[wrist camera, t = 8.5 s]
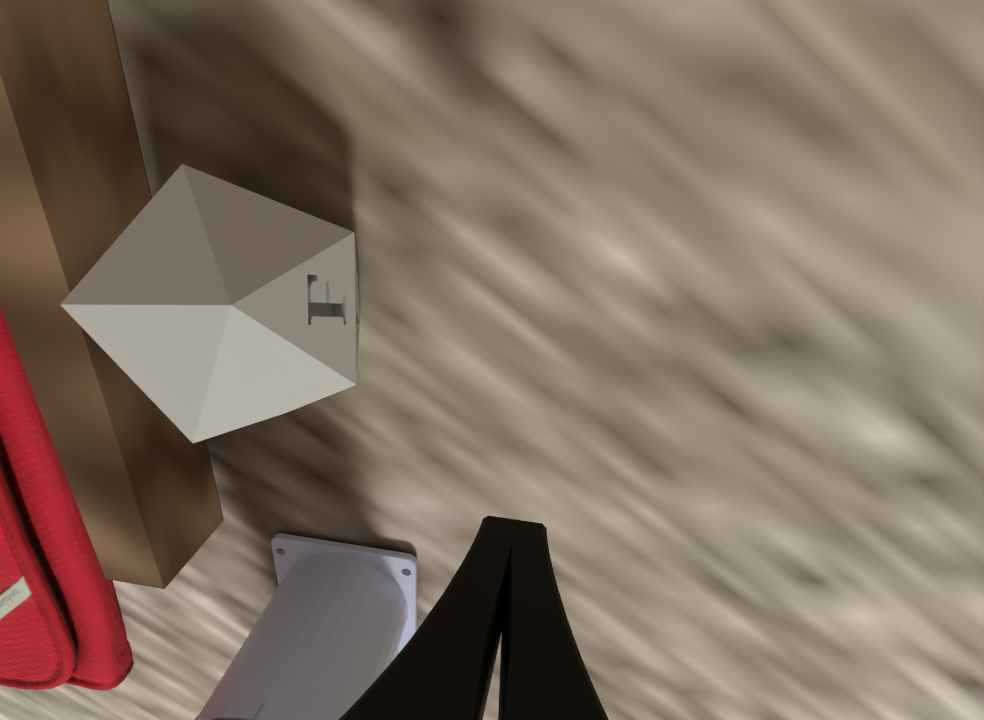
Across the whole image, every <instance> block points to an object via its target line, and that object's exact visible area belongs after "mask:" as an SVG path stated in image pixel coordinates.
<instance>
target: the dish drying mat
mask: <svg viewBox="0 0 984 720" xmlns="http://www.w3.org/2000/svg"><path fill="white" fill-rule="evenodd" d="M132 667H133V659H132V651H131V647H130V644H129V642H128V641H127V636H126V631H125V627H124V623H123V619H122V616H121V612H120V609H119V606H118V602H117V598H116V594H115V591H114V587H113V584H112V580H109V579H106V578H105V576H104V573H103V571H102V568H101V565H100V563H99V560H98V558H97V555H96V553H95V550H94V547H93V545H92V542H91V540H90V537H89V535H88V532H87V529H86V527H85V524H84V522H83V519H82V516H81V514H80V511H79V509H78V506H77V504H76V501H75V498H74V496H73V493H72V491H71V488H70V486H69V483H68V480H67V478H66V475H65V473H64V470H63V468H62V465H61V462H60V460H59V457H58V455H57V452H56V449H55V447H54V444H53V442H52V439H51V437H50V434H49V431H48V429H47V426H46V424H45V421H44V419H43V416H42V413H41V411H40V408H39V406H38V403H37V400H36V398H35V395H34V393H33V390H32V388H31V385H30V382H29V380H28V377H27V375H26V372H25V370H24V367H23V364H22V362H21V359H20V357H19V354H18V351H17V349H16V346H15V344H14V341H13V339H12V336H11V333H10V331H9V328H8V326H7V323H6V321H5V318H4V315H3V313H2V310H1V308H0V685H2V686H8V687H15V688H18V689H33V690H38V689H51V688H54V687H57V686H60V685H62V684H63V683H68V684H73V685H77V686H81V687H85V688H89V689H94V690H109V689H112V688H115V687H117V686H118V685H119V684H120V683H121V682H122V681H124V679H125V678H126V677H127V675H128V674H129V673H130V671H131V669H132Z"/></svg>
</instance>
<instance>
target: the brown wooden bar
mask: <svg viewBox="0 0 984 720" xmlns="http://www.w3.org/2000/svg"><path fill="white" fill-rule="evenodd" d="M150 200H151V196H150V191H149V187H148V182H147V178H146V173H145V169H144V164H143V160H142V156H141V151H140V147H139V142H138V138H137V133H136V129H135V124H134V120H133V115H132V111H131V107H130V102H129V98H128V93H127V89H126V84H125V80H124V75H123V71H122V67H121V62H120V58H119V53H118V49H117V44H116V40H115V35H114V31H113V26H112V22H111V18H110V13H109V9H108V4H107V0H0V308H1V310H2V313H3V315H4V318H5V321H6V323H7V326H8V328H9V331H10V333H11V336H12V339H13V341H14V344H15V346H16V349H17V351H18V354H19V357H20V359H21V362H22V364H23V367H24V370H25V372H26V375H27V377H28V380H29V382H30V385H31V388H32V390H33V393H34V395H35V398H36V400H37V403H38V406H39V408H40V411H41V413H42V416H43V419H44V421H45V424H46V426H47V429H48V431H49V434H50V437H51V439H52V442H53V444H54V447H55V449H56V452H57V455H58V457H59V460H60V462H61V465H62V468H63V470H64V473H65V475H66V478H67V480H68V483H69V486H70V488H71V491H72V493H73V496H74V498H75V501H76V504H77V506H78V509H79V511H80V514H81V516H82V519H83V522H84V524H85V527H86V529H87V532H88V535H89V537H90V540H91V542H92V545H93V547H94V550H95V553H96V555H97V558H98V560H99V563H100V565H101V568H102V571H103V573H104V576H105V578H106V579H109V580H115V581H121V582H127V583H132V584H138V585H144V586H150V587H156V588H161V589H165V588H166V586H167V585H168V584H169V583H170V582H171V581H172V580H173V578H174V577H175V576H176V575H177V574H178V573H179V571H180V570H181V569H182V568H183V567H184V566H185V564H186V563H187V562H188V561H189V560H190V559H191V558H192V556H193V555H194V554H195V553H196V552H197V551H198V549H199V548H200V547H201V546H202V545H203V544H204V542H205V541H206V540H207V539H208V538H209V537H210V536H211V534H212V533H213V532H214V531H215V530H216V529H217V527H218V526H219V525H220V524H221V523H222V522H223V516H222V512H221V507H220V503H219V498H218V494H217V489H216V485H215V480H214V476H213V472H212V467H211V463H210V458H209V454H208V449H207V445H206V440H202V441H199V442H196V443H192V442H191V441H190V440H189V439H188V438H187V437H186V436H185V435H184V434H183V433H182V432H181V430H180V429H179V428H178V427H177V426H176V425H175V424H174V423H173V422H172V421H171V420H170V419H169V418H168V417H167V416H166V415H165V414H164V413H163V412H162V411H161V410H160V409H159V407H158V406H157V405H156V404H155V403H154V402H153V401H152V400H151V399H150V398H149V397H148V396H147V395H146V394H145V393H144V392H143V391H142V390H141V389H140V388H139V387H138V385H137V384H136V383H135V382H134V381H133V380H132V379H131V378H130V377H129V376H128V375H127V374H126V373H125V372H124V371H123V370H122V369H121V368H120V367H119V366H118V365H117V364H116V362H115V361H114V360H113V359H112V358H111V357H110V356H109V355H108V354H107V353H106V352H105V351H104V350H103V349H102V348H101V347H100V346H99V345H98V344H97V343H96V342H95V341H94V339H93V338H92V337H91V336H90V335H89V334H88V333H87V332H86V331H85V330H84V329H83V328H82V327H81V326H80V325H79V324H78V323H77V322H76V321H75V320H74V319H73V318H72V316H71V315H70V314H69V313H68V312H67V311H66V310H65V309H64V308H63V307H62V306H61V305H60V304H61V303H62V302H63V301H64V299H65V298H66V297H67V296H68V295H69V294H70V293H71V291H72V290H73V289H74V288H75V287H76V286H77V284H78V283H79V282H80V281H81V280H82V279H83V278H84V276H85V275H86V274H87V273H88V272H89V271H90V269H91V268H92V267H93V266H94V265H95V264H96V263H97V261H98V260H99V259H100V258H101V257H102V256H103V254H104V253H105V252H106V251H107V250H108V249H109V248H110V246H111V245H112V244H113V243H114V242H115V241H116V240H117V238H118V237H119V236H120V235H121V234H122V233H123V231H124V230H125V229H126V228H127V227H128V226H129V225H130V223H131V222H132V221H133V220H134V219H135V218H136V216H137V215H138V214H139V213H140V212H141V211H142V210H143V208H144V207H145V206H146V205H147V204H148V203H149V201H150Z"/></svg>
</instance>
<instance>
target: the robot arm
mask: <svg viewBox="0 0 984 720" xmlns="http://www.w3.org/2000/svg"><path fill="white" fill-rule="evenodd" d="M271 546H272V552H273V557H274V563H275V569H276V575H277V580H278V586H279V587H278V589H277V590H276V592H275V593H274V595H273V597H272V598H271V600H270V602H269V603H268V605H267V606H266V608H265V610H264V611H263V613H262V614H261V616H260V618H259V619H258V621H257V622H256V624H255V626H254V627H253V629H252V631H251V632H250V634H249V635H248V637H247V639H246V640H245V642H244V643H243V645H242V647H241V648H240V650H239V651H238V653H237V655H236V656H235V658H234V659H233V661H232V663H231V664H230V666H229V668H228V669H227V671H226V672H225V674H224V676H223V677H222V679H221V680H220V682H219V684H218V685H217V687H216V688H215V690H214V692H213V693H212V695H211V696H210V698H209V700H208V701H207V703H206V705H205V706H204V708H203V709H202V711H201V713H200V714H199V716H197V717H196V719H195V720H482V719H483V715H484V710H485V706H486V701H487V696H488V692H489V687H490V683H491V678H492V673H493V669H494V664H495V660H496V655H497V650H498V646H499V641H500V636H501V632H502V640H501V665H500V691H499V716H498V720H609V719H608V717H607V715H606V713H605V711H604V709H603V707H602V705H601V702H600V700H599V698H598V696H597V693H596V691H595V689H594V687H593V684H592V682H591V680H590V677H589V675H588V673H587V670H586V668H585V665H584V663H583V660H582V658H581V655H580V653H579V650H578V647H577V645H576V642H575V639H574V637H573V634H572V631H571V628H570V625H569V622H568V619H567V617H566V613H565V610H564V607H563V604H562V600H561V597H560V594H559V591H558V587H557V583H556V580H555V576H554V572H553V568H552V563H551V559H550V554H549V548H548V542H547V532H546V528H545V526H544V525H543V524H541V523H534V522H528V521H521V520H514V519H507V518H501V517H494V516H487V517H485V518H484V519H483V521H482V524H481V526H480V529H479V531H478V533H477V536H476V538H475V540H474V542H473V544H472V546H471V548H470V550H469V551H468V553H467V555H466V557H465V559H464V561H463V562H462V564H461V566H460V567H459V569H458V571H457V572H456V574H455V575H454V577H453V579H452V580H451V582H450V584H449V585H448V587H447V588H446V590H445V592H444V593H443V595H442V596H441V597H440V599H439V600H438V602H437V603H436V605H435V606H434V607H433V609H432V610H431V612H430V613H429V614H428V616H427V617H426V619H425V620H424V622H423V623H422V624H421V626H420V627H419V628H418V630H417V559H416V558H415V556H413V555H412V554H409V553H403V552H397V551H390V550H384V549H378V548H371V547H365V546H359V545H352V544H346V543H340V542H333V541H327V540H321V539H314V538H308V537H302V536H295V535H289V534H283V533H278V534H276V535H275V536H274V537H273V539H272V540H271ZM407 569H409V570H407Z"/></svg>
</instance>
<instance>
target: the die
mask: <svg viewBox="0 0 984 720" xmlns="http://www.w3.org/2000/svg"><path fill="white" fill-rule="evenodd" d="M60 305H61V306H62V307H63V308H64V309H65V310H66V311H67V312H68V313H69V314H70V315H71V316H72V318H73V319H74V320H75V321H76V322H77V323H78V324H79V325H80V326H81V327H82V328H83V329H84V330H85V331H86V332H87V333H88V334H89V335H90V336H91V337H92V338H93V339H94V341H95V342H96V343H97V344H98V345H99V346H100V347H101V348H102V349H103V350H104V351H105V352H106V353H107V354H108V355H109V356H110V357H111V358H112V359H113V360H114V361H115V362H116V364H117V365H118V366H119V367H120V368H121V369H122V370H123V371H124V372H125V373H126V374H127V375H128V376H129V377H130V378H131V379H132V380H133V381H134V382H135V383H136V384H137V385H138V387H139V388H140V389H141V390H142V391H143V392H144V393H145V394H146V395H147V396H148V397H149V398H150V399H151V400H152V401H153V402H154V403H155V404H156V405H157V406H158V407H159V409H160V410H161V411H162V412H163V413H164V414H165V415H166V416H167V417H168V418H169V419H170V420H171V421H172V422H173V423H174V424H175V425H176V426H177V427H178V428H179V429H180V430H181V432H182V433H183V434H184V435H185V436H186V437H187V438H188V439H189V440H190V441H191V442H192V443H196V442H199V441H202V440H205V439H208V438H211V437H214V436H217V435H220V434H223V433H226V432H229V431H232V430H235V429H239V428H242V427H245V426H248V425H251V424H254V423H257V422H260V421H263V420H266V419H269V418H272V417H275V416H278V415H281V414H284V413H287V412H290V411H292V410H295V409H297V408H300V407H302V406H305V405H307V404H310V403H312V402H315V401H317V400H320V399H322V398H325V397H327V396H330V395H332V394H335V393H337V392H340V391H342V390H345V389H347V388H350V387H352V386H355V385H356V380H357V361H358V343H359V324H360V303H359V290H358V276H357V262H356V249H355V235H354V232H352V231H350V230H347V229H345V228H342V227H340V226H337V225H335V224H332V223H330V222H327V221H325V220H322V219H320V218H317V217H315V216H312V215H310V214H307V213H305V212H302V211H299V210H297V209H294V208H292V207H289V206H287V205H284V204H282V203H279V202H277V201H274V200H272V199H269V198H267V197H264V196H262V195H259V194H257V193H254V192H252V191H249V190H247V189H244V188H242V187H239V186H236V185H234V184H231V183H229V182H226V181H224V180H221V179H219V178H216V177H214V176H211V175H209V174H206V173H204V172H201V171H199V170H196V169H194V168H191V167H189V166H186V165H184V164H182V165H181V166H180V167H179V168H178V169H177V170H176V171H175V173H174V174H173V175H172V176H171V177H170V178H169V180H168V181H167V182H166V183H165V184H164V185H163V186H162V188H161V189H160V190H159V191H158V192H157V193H156V195H155V196H154V197H153V198H152V199H151V200H150V201H149V203H148V204H147V205H146V206H145V207H144V208H143V210H142V211H141V212H140V213H139V214H138V215H137V216H136V218H135V219H134V220H133V221H132V222H131V223H130V225H129V226H128V227H127V228H126V229H125V230H124V231H123V233H122V234H121V235H120V236H119V237H118V238H117V240H116V241H115V242H114V243H113V244H112V245H111V246H110V248H109V249H108V250H107V251H106V252H105V253H104V254H103V256H102V257H101V258H100V259H99V260H98V261H97V263H96V264H95V265H94V266H93V267H92V268H91V269H90V271H89V272H88V273H87V274H86V275H85V276H84V278H83V279H82V280H81V281H80V282H79V283H78V284H77V286H76V287H75V288H74V289H73V290H72V291H71V293H70V294H69V295H68V296H67V297H66V298H65V299H64V301H63V302H62V303H61V304H60Z"/></svg>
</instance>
